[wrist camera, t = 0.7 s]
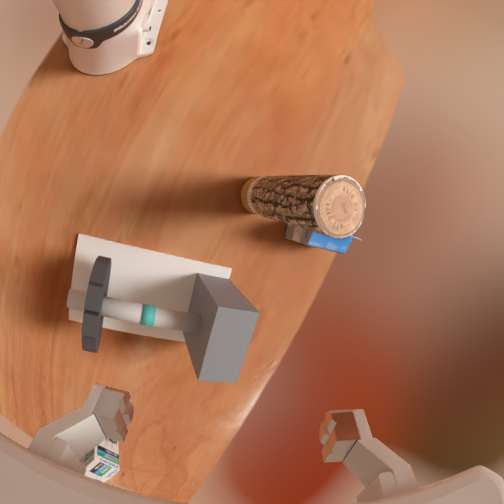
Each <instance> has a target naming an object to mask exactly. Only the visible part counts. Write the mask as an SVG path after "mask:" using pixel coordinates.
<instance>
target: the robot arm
mask: <svg viewBox="0 0 504 504" xmlns="http://www.w3.org/2000/svg"><path fill="white" fill-rule="evenodd" d="M53 2H54V4H55V5H56V7H57V9H58V11H59V20H60V24H61V26H62V28H63V31H64V33H63V35H62V39H63V42H64V43H65V44H66V46H67V47H68V51H69V57H70V60H71V62H72V64H73V66H74V67H75V68H76V69H78V70H79V71H81V72H83V73H86V74H90V75H103V74H108V73H112V72H115V71H117V70H119V69H121V68H123V67H125V66H126V65H128V64H129V63H131V62H132V61H134V60H135V59H138V58H142V57H145V56H148V55H150V54H152V53H153V52H154V49H155V45H156V41H157V37H158V34H159V30H160V26H161V23H162V19H163V16H164V13H165V10H166V6H167V3H168V0H53ZM147 43H151V44H150V45H147ZM129 400H130V394H129V392H126V391H123V390H119V389H115V388H112V387H108V386H105V385H101V384H98V383H96V384H95V385H94V386H93V387H92V389H91V391H90V393H89V395H88V396H87V398H86V400H85V402H84V404H83V406H82V407H81V409H76V410H74V411H72V412H70V413H68V414H66V415H65V416H63V417H61V418H59V419H57V420H55V421H53V422H51V423H49V424H47V425H46V426H44V427H42V428H40V429H39V430H38V432H37V434H36V436H35V437H34V439H33V441H32V443H31V445H30V446H29V448H28V449H27V448H25V447H23V446H22V445H20V444H18V443H17V442H15V441H13V440H12V439H10V438H8V437H7V436H5V435H3V434H2V433H0V504H186V503H180V502H175V501H170V500H165V499H160V498H156V497H151V496H147V495H143V494H139V493H136V492H132V491H129V490H125V489H121V488H118V487H115V486H112V485H109V484H106V483H103V482H100V481H98V480H95V479H92V478H90V477H87V476H84V475H85V472H86V468H85V467H84V465H83V464H82V463H81V462H80V460H79V459H80V458H82V457H83V456H84V455H86V454H87V453H88V452H90V451H91V450H92V449H94V448H95V447H96V446H97V445H99V444H100V443H101V442H103V441H104V440H105V439H106V438H109V439H113V440H116V441H120V442H124V441H125V438H126V435H127V433H128V429H127V425H129V424H130V423H131V422H132V419H133V414H134V407H133V404H132V403H131V402H130V401H129ZM325 418H326V420H325V421H323V422H322V424H321V426H320V442H321V443H322V444H324V447H323V449H322V454H323V460H324V462H336V461H343V463H344V464H345V465H346V466H347V467H348V469H349V470H350V471H351V472H352V473H353V474H354V475H355V476H356V478H357V479H358V480H359V481H360V482H361V483H362V484H363V485H364V486H365V487H366V488H365V489H364V490H363V491H362V492H361V493H360V494H359V495H358V496H357V503H355V504H504V481H503V479H502V478H501V477H500V476H499V475H497V474H496V473H495V472H493V471H491V470H489V469H488V468H485V467H484V466H476V467H473V468H471V469H469V470H466V471H464V472H462V473H459V474H457V475H454V476H452V477H449V478H447V479H444V480H441V481H439V482H436V483H433V484H430V485H427V486H424V487H421V488H418V486H417V483H416V480H415V477H414V474H413V471H412V468H411V466H410V465H409V464H408V463H406V462H405V461H404V460H402V459H401V458H400V457H399V456H397V455H396V454H395V453H394V452H392V451H391V450H390V449H389V448H387V447H386V446H385V445H384V444H382V443H381V442H380V441H378V440H377V439H376V438H372V435H371V432H370V429H369V426H368V422H367V419H366V417H365V413H364V411H363V410H362V409H357V410H338V411H328V412H327V413H326V415H325Z"/></svg>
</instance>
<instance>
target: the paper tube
mask: <svg viewBox="0 0 504 504" xmlns="http://www.w3.org/2000/svg"><path fill="white" fill-rule="evenodd" d="M241 202H242V204H243V206H244V207H245V208H246V209H247V210H248V211H249V212H251V213H253V214H257V215H260V216H263V217H267V218H270V219H274V220H277V221H281V222H284V223H287V224H291V225H294V226H297V227H301V228H304V229H307V230H311V231H314V232H317V233H320V234H324V235H327V236H330V237H334V238H345V237H348V236H350V235H352V234H353V233H354V232H355V231H356V230H357V229H358V228H359V226H360V225H361V223H362V220H363V218H364V214H365V209H366V203H365V196H364V193H363V190H362V188H361V187H360V185H359V184H358V183H357V182H356V181H355V180H354V179H353V178H351V177H348V176H345V175H289V176H263V177H254V178H251V179H249V180H248V181H247V182H246V183H245V184H244V185H243V187H242V190H241Z"/></svg>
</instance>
